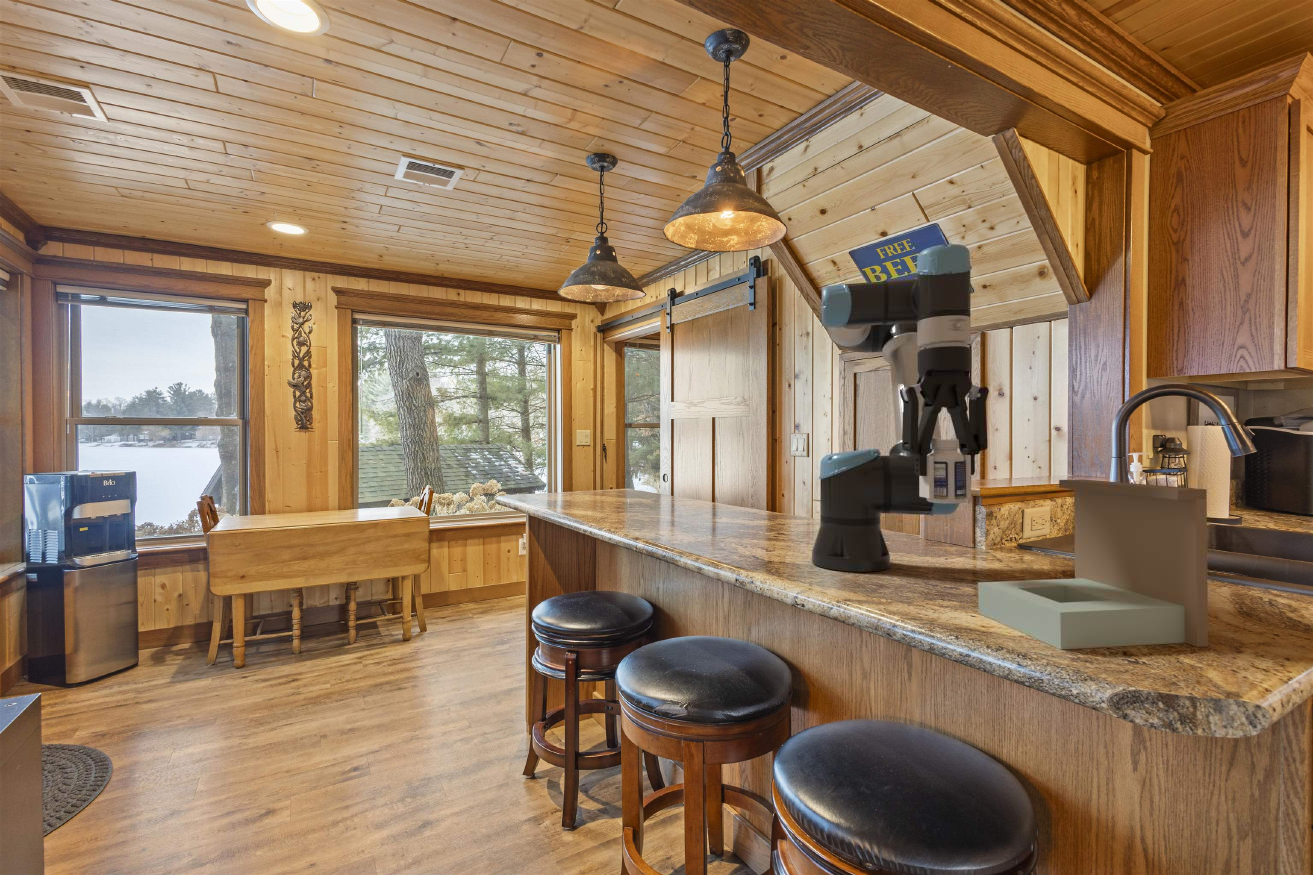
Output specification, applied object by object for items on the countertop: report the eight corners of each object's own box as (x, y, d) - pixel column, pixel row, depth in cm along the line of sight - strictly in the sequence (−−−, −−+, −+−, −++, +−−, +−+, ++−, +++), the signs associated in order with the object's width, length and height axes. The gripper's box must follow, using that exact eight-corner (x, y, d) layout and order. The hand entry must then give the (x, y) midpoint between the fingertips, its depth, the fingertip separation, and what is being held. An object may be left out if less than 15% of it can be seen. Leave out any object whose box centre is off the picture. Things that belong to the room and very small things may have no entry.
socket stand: (971, 610, 88) (970, 481, 88) (1084, 604, 90) (1082, 479, 90) (1070, 654, 70) (1069, 492, 70) (1208, 646, 72) (1206, 489, 72)
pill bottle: (956, 500, 94) (955, 439, 94) (971, 504, 88) (970, 439, 88) (921, 500, 94) (920, 439, 94) (933, 504, 89) (933, 439, 89)
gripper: (900, 343, 87) (902, 500, 87) (1015, 344, 89) (1016, 498, 89) (875, 350, 94) (877, 495, 94) (982, 351, 96) (983, 493, 96)
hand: (945, 496), depth 91 cm, fingers closed on pill bottle, 5 cm apart
